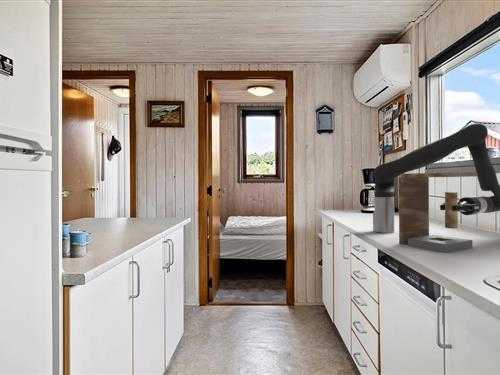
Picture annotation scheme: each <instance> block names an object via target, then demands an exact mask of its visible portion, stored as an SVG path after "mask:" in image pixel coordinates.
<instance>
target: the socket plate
mask: <svg viewBox="0 0 500 375" xmlns="http://www.w3.org/2000/svg"><path fill="white" fill-rule="evenodd" d="M473 241H474V240H473V239H469V238H462V237H452V236H448V235H447V236H445V235H439V234H429V235H428V236H421V237H414V238H408V244H407V246H408V247H412V248H417V249H422V248H423V249H424V250H428V251H433V252H440V253H452V252H457V251H458V250H459V251H463V250H468V249H473V243H474V242H473Z"/></svg>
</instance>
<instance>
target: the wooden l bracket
mask: <svg viewBox="0 0 500 375" xmlns="http://www.w3.org/2000/svg"><path fill="white" fill-rule="evenodd" d="M462 177H463V178H466V177H467V178H469V177H477V172H476V171H473V172H471V171H470V172H426V173H425V172H423V173H420V172H419V173H404V174H401V175H400V176H398V239H399V240H398V244H399V245H408V238H414V237H421V236H428V235H430V195H429V194H430V189H429V188H430V181H429V180H430V178H462Z"/></svg>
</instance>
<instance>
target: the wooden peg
mask: <svg viewBox="0 0 500 375" xmlns="http://www.w3.org/2000/svg"><path fill="white" fill-rule="evenodd" d="M458 193H459V192H457V191H444V203H445V210H444V228H445V229H458V228H459V224H458V223H459V222H458V220H459V219H458V217H459V216H458V212H459V211H452V206H453V205H458V201H459V199H458V198H459V196H458V195H459V194H458Z"/></svg>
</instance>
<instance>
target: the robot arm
mask: <svg viewBox="0 0 500 375" xmlns="http://www.w3.org/2000/svg"><path fill="white" fill-rule="evenodd" d="M488 135H489V133H488V128H487V126H485V125H484V124H483V123H478V122H475V123H471V124H469V125H466V126H464V127H463V128H462V129H460V130H458V131H456V132H454V133H452V134H449V135H448V136H445V137H443V138H440V139H436V140H435V141H433V142H430V143H427V144H425V145H422V146H421V147H418V148H417V149H413V150H412V151H410V152H408V153H406V154H404V155H403V156H401V157H400V158H397V159H395V160H392V161H389V162H386V163H382V164H381V163H380V164H379V165H378V166H376V167H375V169H374V170H373V177H374V192H373V195H374V198H373V199H374V200H373V201H374V211H373V212H372V231H373V232H375V233H383V234H391V233H395V178H399V177H400V176H401V174H407V173H408V172H412V171H416V170H419V169H422V168H425V167H427V166H430V165H433V164H435V163H437V162H439V161H441V160H443V159H444V158H447V157H448V156H449V155H451V154H453V153H454V152H455V151H458V150H460V149H462V148H463V149H464V148H466V147H467V149H468V150H469V154H470V155H471V158H472V161H473V165H474V169H475V172H477V176H476V177H477V180H478V184H479V187H480V190H481V191H482V192H491V193H492V194H493V195H490V196H485V195H482V196H480V195H479V196H476V195H475V196H463V197H461V198H460V199H458V205H453V206H452V211H458V212H459V213H460V214H462V215H464V216H472V215H474V216H475V215H479V214H489V213H495V212H500V184H499V181H498V176H497V174H496V170H495V168H494V165H493V163H492V161H491V159H490V156H489V154H488V149H487V142H486V139H487V137H488ZM439 210H440V211H445V202H443V203H441V204H440V205H439Z"/></svg>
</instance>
